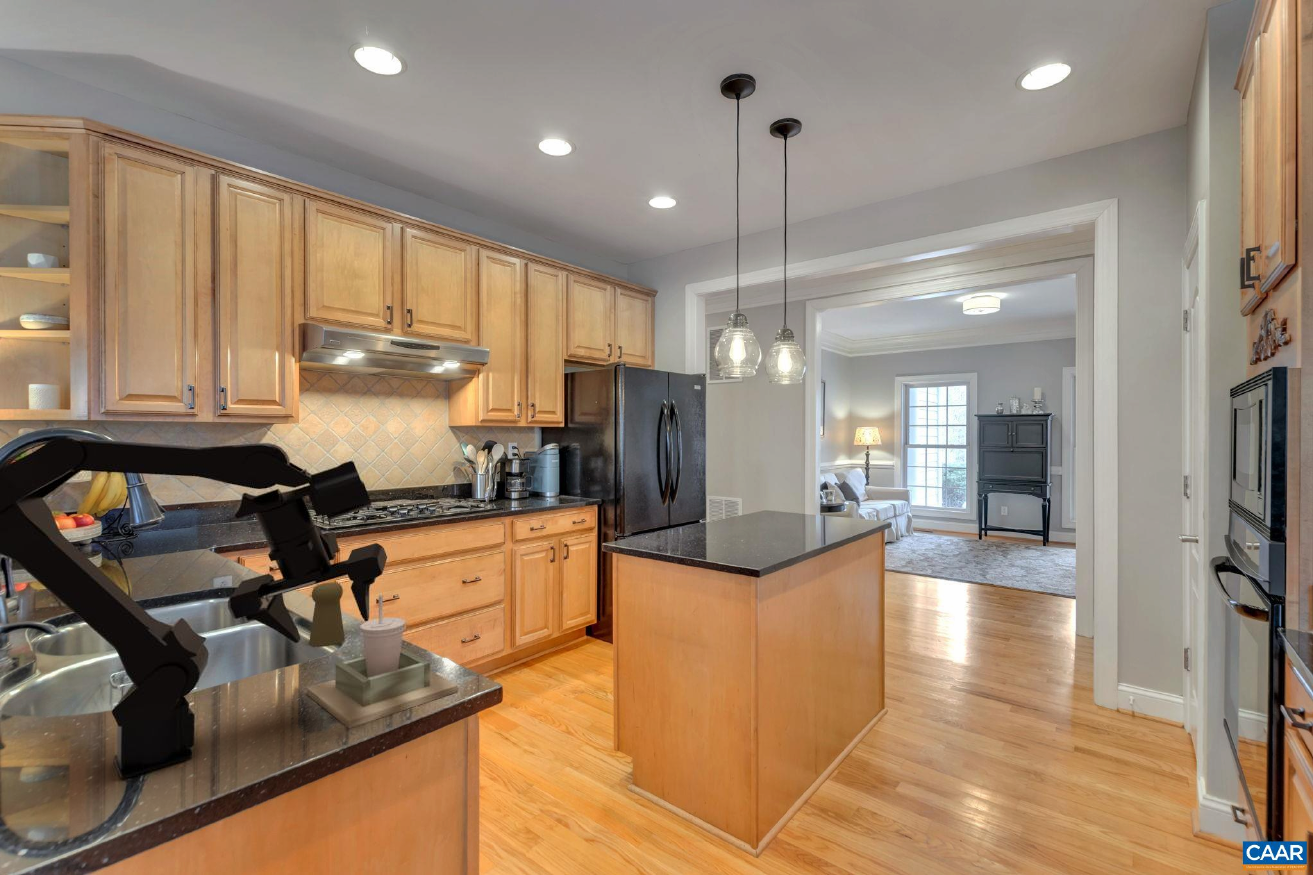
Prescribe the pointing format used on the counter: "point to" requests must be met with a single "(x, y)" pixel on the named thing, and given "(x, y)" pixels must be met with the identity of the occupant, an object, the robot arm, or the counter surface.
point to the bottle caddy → (379, 689)
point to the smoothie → (382, 643)
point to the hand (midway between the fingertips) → (333, 630)
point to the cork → (327, 615)
